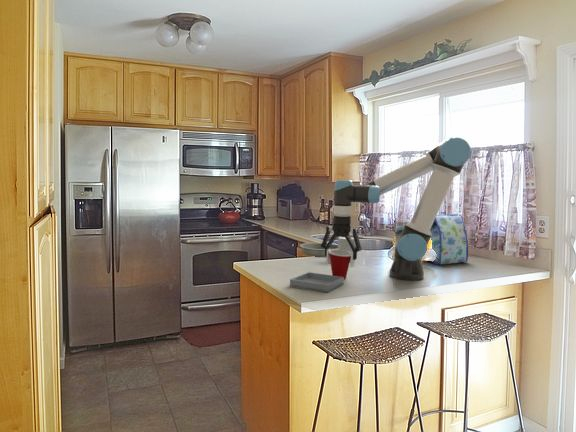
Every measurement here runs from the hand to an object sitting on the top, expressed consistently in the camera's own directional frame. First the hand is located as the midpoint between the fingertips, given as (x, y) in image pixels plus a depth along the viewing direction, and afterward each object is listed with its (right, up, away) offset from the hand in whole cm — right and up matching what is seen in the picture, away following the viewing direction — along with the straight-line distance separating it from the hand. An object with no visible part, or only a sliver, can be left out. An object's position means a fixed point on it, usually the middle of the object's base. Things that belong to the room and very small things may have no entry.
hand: (340, 265), depth 197 cm
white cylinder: (+8, -2, +43) cm, 43 cm away
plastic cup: (0, -6, +1) cm, 6 cm away
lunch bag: (+62, -4, +47) cm, 77 cm away
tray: (-11, -7, -13) cm, 18 cm away
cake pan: (-4, 0, +64) cm, 64 cm away
